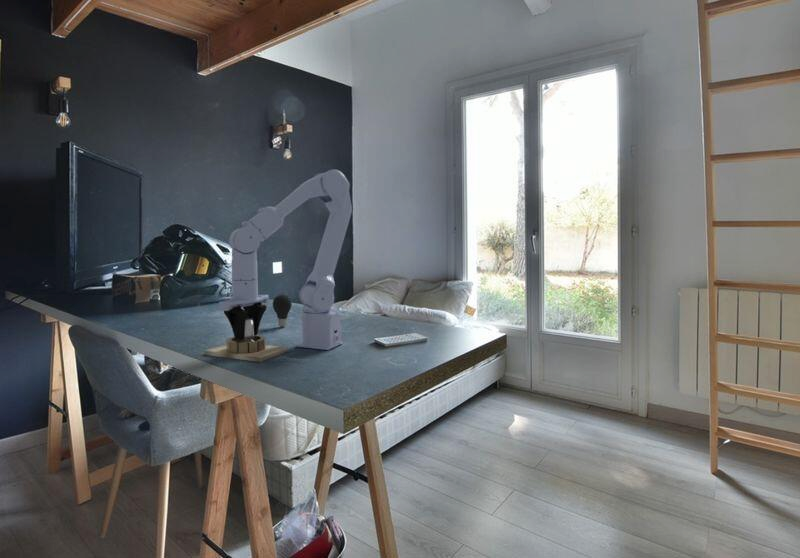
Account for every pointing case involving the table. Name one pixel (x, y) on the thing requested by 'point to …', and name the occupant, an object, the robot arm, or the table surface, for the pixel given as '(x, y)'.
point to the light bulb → (282, 308)
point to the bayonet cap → (248, 330)
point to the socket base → (247, 356)
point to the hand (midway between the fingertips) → (246, 336)
